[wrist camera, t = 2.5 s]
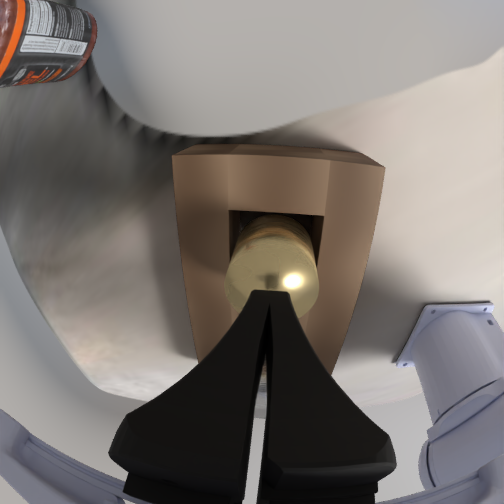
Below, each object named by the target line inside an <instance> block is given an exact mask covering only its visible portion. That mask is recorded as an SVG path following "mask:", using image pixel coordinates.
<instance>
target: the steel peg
mask: <svg viewBox="0 0 504 504" xmlns="http://www.w3.org/2000/svg"><path fill="white" fill-rule="evenodd" d="M266 407H267V388H266V355H265V360H264V365H263V370H262V375H261V380H260V385H259V390H258V394H257V399H256V405H255V411H254V418H264V419H266Z"/></svg>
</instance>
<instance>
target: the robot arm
mask: <svg viewBox="0 0 504 504" xmlns="http://www.w3.org/2000/svg"><path fill="white" fill-rule="evenodd" d="M493 309H494V304H493V303H478V304H446V305H427V306H425V307H424V309H423V311H422V313H421V315H420V317H419V319H418V322H417V324H416V326H415V328H414V330H413V332H412V334H411V336H410V338H409V340H408V342H407V344H406V345H405V347H404V349H403V351H402V353H401V355H400V357H399V358H398V360H397V362H396V366H397V367H398V368H402V367H413V366H415V367H416V370H417V373H418V376H419V379H420V382H421V385H422V389H423V392H424V395H425V398H426V401H427V405H428V408H429V412H430V415H431V419H432V423H433V426H432V427H431V428H429V429H428V430H427V434H428V438H429V439H428V440H427V441H425V443H424V444H423V446H422V449H421V453H420V456H419V464H418V466H419V475H420V479H421V482H422V485H423V486H424V488H425V491H422V492H419V493H415V494H411V495H408V496H404V497H401V498H396V499H392V500H388V501H383V502H378V503H375V495H374V493H377V492H378V481H379V480H381V479H382V478H384V477H386V476H387V475H389V474H390V473H392V472H393V471H394V469H395V468H396V465H397V463H396V457H395V452H394V449H393V445H392V442H391V439H390V437H389V435H388V434H387V433H386V432H385V431H383V430H382V429H381V428H380V427H379V426H377V425H376V424H375V423H374V422H373V421H372V420H371V419H369V418H368V417H367V416H366V415H365V414H364V413H363V412H362V411H361V410H360V409H359V408H358V407H357V406H356V405H355V404H354V403H353V401H352V400H351V399H350V398H349V397H348V396H347V395H346V393H345V392H344V391H343V390H342V389H341V388H340V386H339V385H338V384H337V383H336V382H335V380H334V379H333V378H332V376H331V375H330V374H329V372H328V371H327V369H326V368H325V366H324V365H323V364H322V362H321V361H320V359H319V357H318V356H317V354H316V353H315V351H314V349H313V347H312V346H311V344H310V342H309V340H308V338H307V336H306V335H305V332H304V330H303V328H302V326H301V324H300V322H299V320H298V317H297V315H296V312H295V310H294V307H293V304H292V301H291V297H290V294H289V293H288V292H287V291H272V290H257V289H254V290H253V291H251V293H250V296H249V298H248V300H247V302H246V304H245V306H244V307H243V309H242V311H241V312H240V314H239V315H238V317H237V318H236V320H235V321H234V323H233V324H232V326H231V327H230V328H229V330H228V331H227V332H226V334H225V335H224V336H223V337H222V339H221V340H220V341H219V342H218V344H217V345H216V346H215V347H214V348H213V349H212V350H211V351H210V353H209V354H208V355H207V356H206V357H205V358H204V359H203V360H202V361H201V362H200V363H199V364H198V365H196V366H195V367H194V368H193V369H192V370H191V371H190V372H189V373H188V374H187V375H185V376H184V377H183V378H182V379H180V380H179V381H178V382H177V383H175V384H174V385H173V386H171V387H170V388H168V389H167V390H166V391H164V392H163V393H162V394H160V395H159V396H157V397H156V398H154V399H153V400H151V401H149V402H148V403H146V404H144V405H142V406H141V407H139V408H137V409H135V410H134V411H132V412H130V413H128V414H127V415H126V416H125V418H124V419H123V421H122V423H121V425H120V426H119V428H118V430H117V432H116V434H115V437H114V439H113V442H112V444H111V447H110V450H109V452H108V453H109V456H110V458H111V459H112V460H113V461H114V462H115V463H117V464H118V465H119V466H121V467H122V468H123V469H125V470H126V471H127V472H129V473H128V476H127V479H126V482H124V481H122V480H119V479H117V478H114V477H112V476H109V475H107V474H105V473H102V472H100V471H98V470H95V469H93V468H91V467H89V466H87V465H85V464H83V463H81V462H79V461H77V460H75V459H73V458H71V457H69V456H67V455H65V454H63V453H62V452H60V451H58V450H57V449H55V448H53V447H51V446H50V445H48V444H46V443H45V442H43V441H42V440H40V439H38V438H37V437H35V436H34V435H32V434H31V433H30V432H29V431H28V430H27V429H26V428H25V427H24V426H22V425H21V424H20V423H19V422H17V421H16V420H15V419H14V418H12V417H11V416H10V415H8V414H7V413H5V412H4V411H3V410H1V409H0V475H1V476H2V477H3V478H4V479H5V480H6V481H7V482H8V483H9V484H10V485H11V486H12V487H13V488H14V489H15V490H16V491H17V492H18V493H19V494H20V495H21V496H22V497H23V498H24V499H25V500H26V501H27V502H28V503H29V504H125V502H124V500H123V499H125V500H128V501H130V502H133V503H136V504H242V500H244V497H245V488H246V480H247V472H248V463H249V455H250V446H251V437H252V428H253V420H254V411H255V405H256V399H257V394H258V390H259V385H260V380H261V375H262V370H263V365H264V360H265V355H266V388H267V407H266V421H265V431H264V442H263V452H262V460H261V470H260V478H259V486H258V494H257V503H256V504H504V332H503V331H502V329H501V327H500V326H499V324H498V323H497V321H496V320H495V318H494V317H493V315H492V314H491V313H492V311H493ZM432 310H433V311H432Z"/></svg>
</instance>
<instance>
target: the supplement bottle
mask: <svg viewBox="0 0 504 504" xmlns="http://www.w3.org/2000/svg"><path fill="white" fill-rule="evenodd" d="M96 38H97V24H96V20H95V18H94V17H93V15H92V14H90V13H88V12H87V11H84V10H82V9H79V8H75V7H72V6H68V5H64V4H60V3H56V2H52V1H48V0H0V88H1V87H8V86H16V85H23V84H34V83H47V82H57V81H62V80H65V79H67V78H69V77H71V76H72V75H74V74H75V73H76V72H77V71H79V70H80V69H81V68H82V66H83V65H84V64H85V63H86V61H87V60H88V58H89V56H90V54H91V52H92V50H93V48H94V45H95V43H96Z"/></svg>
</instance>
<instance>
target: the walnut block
mask: <svg viewBox="0 0 504 504" xmlns="http://www.w3.org/2000/svg"><path fill="white" fill-rule="evenodd" d="M172 166H173V181H174V194H175V205H176V216H177V226H178V235H179V244H180V252H181V260H182V268H183V275H184V282H185V289H186V296H187V302H188V309H189V315H190V321H191V326H192V332H193V338H194V343H195V348H196V353H197V359H198V363H200V362H201V361H202V360H203V359H204V358H205V357H206V356H207V355H208V354H209V353H210V351H211V350H212V349H213V348H214V347H215V346H216V345H217V344H218V342H219V341H220V340H221V339H222V337H223V336H224V335H225V334H226V332H227V331H228V330H229V328H230V327H231V326H232V324H233V323H234V321H235V320H236V318H237V317H238V315H239V314H240V313H238V312H237V311H236V310H235V309H234V308H233V307H232V305H231V304H230V302H229V301H228V299H227V296H226V293H225V288H224V282H225V277H226V273H227V270H228V267H229V264H230V261H231V258H232V255H233V252H234V249H235V246H236V243H237V240H238V237H239V234H240V210H241V211H261V212H278V213H294V214H308V215H313V219H312V228H311V237H310V238H311V242H312V247H313V252H314V257H315V263H316V268H317V274H318V280H319V293H318V297H317V300H316V302H315V303H314V305H313V307H312V308H311V309H310V310H309V311H308V312H307V313H306V314H304V315H303V316H302V317H300V318H298V320H299V322H300V324H301V326H302V328H303V330H304V332H305V335H306V336H307V338H308V340H309V342H310V344H311V346H312V347H313V349H314V351H315V353H316V354H317V356H318V357H319V359H320V361H321V362H322V364H323V365H324V366H325V368H326V369H327V371H328V372H329V374H330V375H332V372H333V369H334V367H335V364H336V361H337V359H338V356H339V353H340V350H341V348H342V345H343V342H344V339H345V336H346V333H347V330H348V327H349V324H350V321H351V318H352V314H353V311H354V308H355V305H356V301H357V298H358V294H359V291H360V287H361V284H362V280H363V276H364V272H365V269H366V265H367V261H368V256H369V252H370V248H371V244H372V239H373V235H374V230H375V225H376V220H377V215H378V210H379V204H380V199H381V193H382V187H383V181H384V174H385V167H384V166H382V165H381V164H379V163H377V162H376V161H374V160H372V159H371V158H369V157H368V156H366V155H364V154H362V153H355V152H347V151H339V150H330V149H320V148H309V147H297V146H281V145H259V144H196V145H193V146H191V147H189V148H187V149H185V150H182V151H180V152H178V153H176V154H174V155H172Z"/></svg>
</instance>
